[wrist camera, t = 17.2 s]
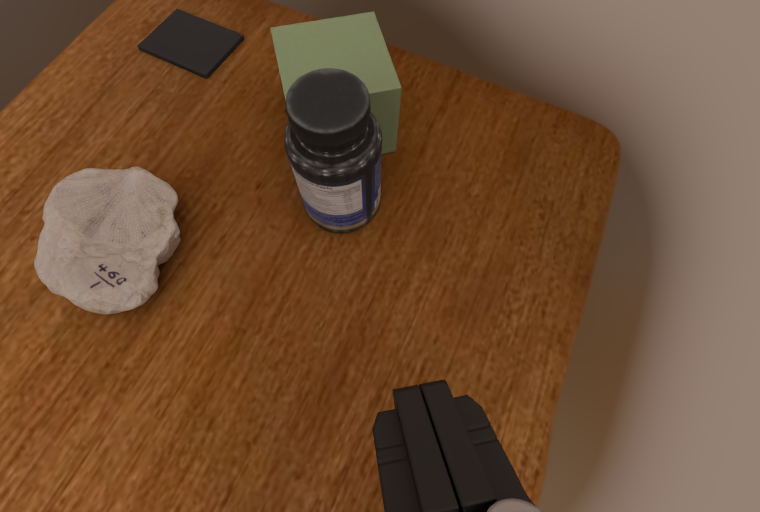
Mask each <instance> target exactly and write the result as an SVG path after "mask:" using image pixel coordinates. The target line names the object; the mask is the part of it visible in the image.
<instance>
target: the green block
mask: <svg viewBox="0 0 760 512" xmlns="http://www.w3.org/2000/svg"><path fill="white" fill-rule="evenodd" d="M270 29H271V34H272V39H273V43H274V48H275V53H276V58H277V62H278V67H279V72H280V77H281V81H282V86H283V91H284V96H285V101H286V95H287V93H288V90H289V88H290V87H291V86H292V84H293V83H294V82H295V81H296V80H297V79H298V78H299V77H301V76H303V75H304V74H306V73H309V72H311V71H313V70H318V69H322V68H334V69H341V70H345V71H347V72H350V73H352V74H354V75H355V76H357V77H358V78H359V79H360V80H361V81H362V82H363V83H364V84H365V86H366V87H367V89H368V92H369V95H370V106H371V112H372V113H373V115H374V116H375V118H376V119H377V121H378V123H379V125H380V128H381V132H382V154H385V153H390V152H395V151H396V145H397V134H398V122H399V110H400V99H401V85H400V82H399V80H398V77H397V74H396V71H395V69H394V66H393V63H392V60H391V57H390V55H389V52H388V49H387V46H386V44H385V41H384V38H383V36H382V33H381V30H380V27H379V24H378V22H377V19H376V16H375V14H374V12H369V13H362V14H356V15H349V16H343V17H337V18H330V19H324V20H317V21H311V22H305V23H298V24H292V25H285V26H279V27H273V28H270Z"/></svg>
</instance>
